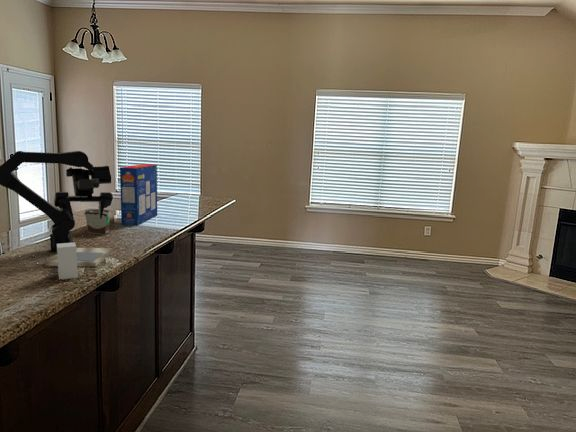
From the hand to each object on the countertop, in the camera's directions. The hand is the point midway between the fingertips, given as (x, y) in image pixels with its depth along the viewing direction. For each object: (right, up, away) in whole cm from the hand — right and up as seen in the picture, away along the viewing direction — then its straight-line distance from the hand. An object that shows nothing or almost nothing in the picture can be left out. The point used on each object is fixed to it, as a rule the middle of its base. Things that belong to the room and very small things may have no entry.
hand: (87, 218), depth 149 cm
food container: (-12, -7, +39) cm, 41 cm away
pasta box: (-5, -1, +69) cm, 70 cm away
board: (-2, -14, 0) cm, 14 cm away
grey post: (+3, -18, -19) cm, 26 cm away
